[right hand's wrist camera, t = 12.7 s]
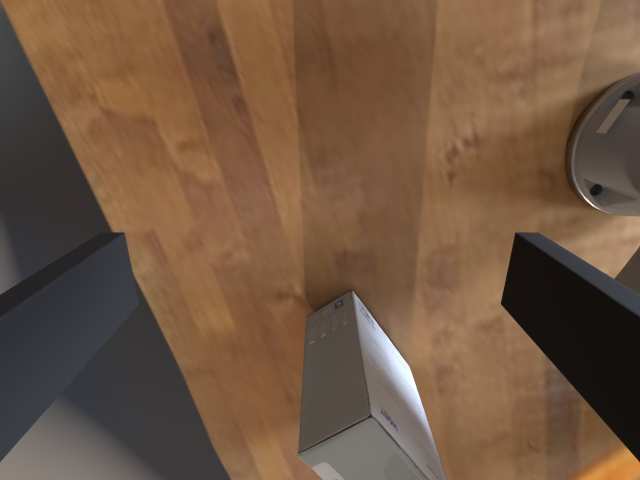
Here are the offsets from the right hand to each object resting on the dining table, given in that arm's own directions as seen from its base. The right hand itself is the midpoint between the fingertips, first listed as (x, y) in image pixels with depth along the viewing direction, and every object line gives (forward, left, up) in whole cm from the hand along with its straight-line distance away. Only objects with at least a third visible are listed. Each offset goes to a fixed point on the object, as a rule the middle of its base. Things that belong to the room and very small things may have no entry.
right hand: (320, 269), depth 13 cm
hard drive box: (-7, +25, -30) cm, 40 cm away
